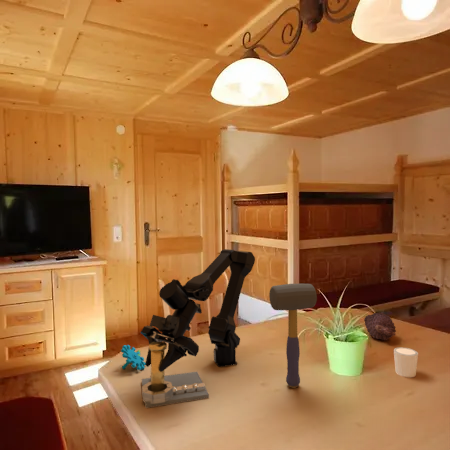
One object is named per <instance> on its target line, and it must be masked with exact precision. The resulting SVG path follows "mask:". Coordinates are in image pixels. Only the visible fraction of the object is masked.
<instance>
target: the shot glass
mask: <svg viewBox="0 0 450 450" xmlns="http://www.w3.org/2000/svg"><path fill="white" fill-rule="evenodd" d="M393 356H394V357H393V359H394V368H395V373H396V374H397V375H398V376H400V377H403V378H414V377H416V375H417V367H418V360H419V359H418V357H419V352H418V351H416V350H415V349H413V348H409V347H395V348H394V349H393Z"/></svg>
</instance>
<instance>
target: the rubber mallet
mask: <svg viewBox="0 0 450 450" xmlns="http://www.w3.org/2000/svg"><path fill="white" fill-rule="evenodd" d="M268 298H269V303H270V306H271V308H272V309H273V310H274V311H288V320H287V321H288V322H287V324H288V329H287V330H288V333H287V334H288V335H287V339H286V347H285V348H286V353H285V354H286V361H287V362H286V363H287V366H286V367H287V371H286V373H287V374H286V377H285V378H286V379H285V382H286V384H287V386H288V387H289V388H298V387H299V385H300V384H301V378H300V368H299V366H300V365H299V364H300V363H299V361H300V354H301V353H300V341H299V336H298V310H305V309H311V308H314V307H315V305H316V304H317V301H318V296H317V291H316V288H315V287H314V285H313V284H312V283H286V284H278V285H272V286H271V287H270V289H269V296H268Z"/></svg>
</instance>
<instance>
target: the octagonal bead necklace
mask: <svg viewBox="0 0 450 450" xmlns="http://www.w3.org/2000/svg"><path fill="white" fill-rule="evenodd" d="M149 378H150V380H151V375H150V377H149ZM204 390H207V388H206V384H205V383H204V382H203V383H199V384H198V383H193V384H192V385H182V386H179V387H176V386H172V383H171V382H168V381H164V390H163V391H159V392H152V391H151V382H148V383H147V384H145V385H144V386H142V385H141V396H142V401H143V402H144V403H145V402H148V403H151V404H156V403H163V402H166V401H168V400H169V399H170V398H172V397H173V395H175V394H176V395H178V394H184V393H191V392H195V391H204Z"/></svg>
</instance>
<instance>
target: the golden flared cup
mask: <svg viewBox="0 0 450 450" xmlns="http://www.w3.org/2000/svg"><path fill="white" fill-rule="evenodd" d="M148 349H149V350H151V364H150V376H151V391H152V392H159V391H163V390H164V376H165V370H164V371H162V372H160V371H159V367H160V365H161V363H162V361H163V359H164V357H165V355H166V353H165V351H166V350H168V343H167V342H163V341H162V342H152V343H150V344H149V343H148Z"/></svg>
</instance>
